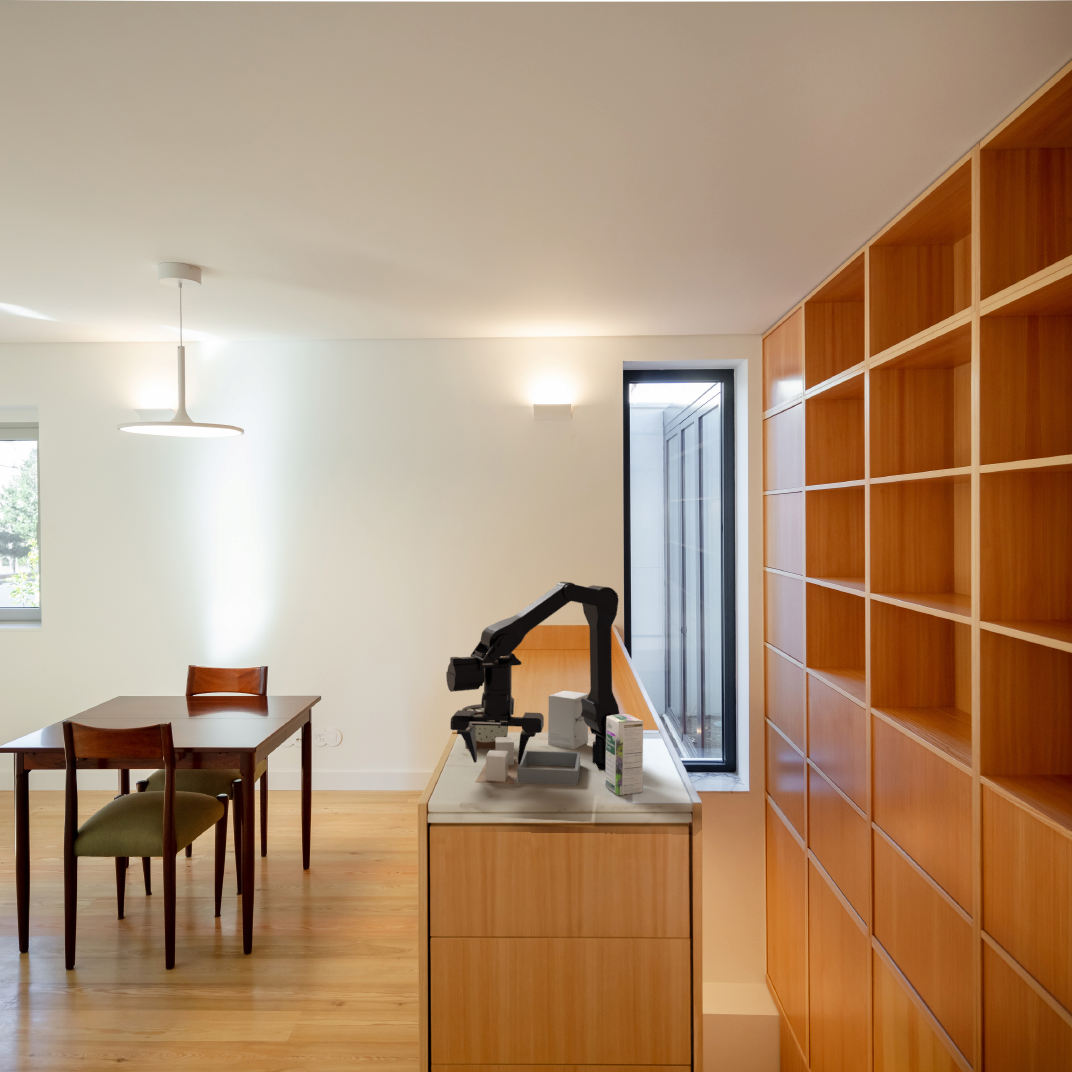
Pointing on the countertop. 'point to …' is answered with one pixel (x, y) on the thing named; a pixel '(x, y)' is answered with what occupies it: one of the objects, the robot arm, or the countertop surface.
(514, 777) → the brown rectangular board
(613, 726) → the syrup box
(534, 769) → the bin
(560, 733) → the supplement box
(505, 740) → the cream white block
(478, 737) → the food container
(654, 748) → the countertop surface
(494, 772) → the stone
